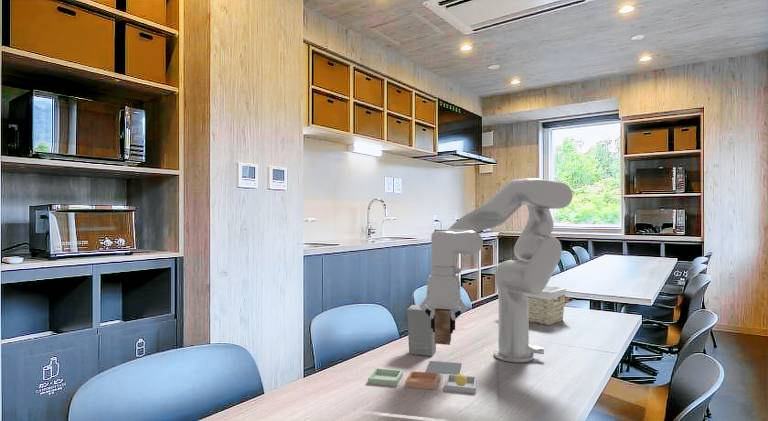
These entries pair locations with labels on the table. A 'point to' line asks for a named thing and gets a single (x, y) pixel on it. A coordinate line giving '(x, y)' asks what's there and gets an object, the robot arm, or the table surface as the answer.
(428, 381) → the terracotta tub
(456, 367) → the rubber mat
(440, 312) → the walnut block
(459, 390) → the grey tub
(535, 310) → the storage basket
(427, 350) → the skincare box
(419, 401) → the table surface
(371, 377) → the sage tub
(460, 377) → the mustard ball
